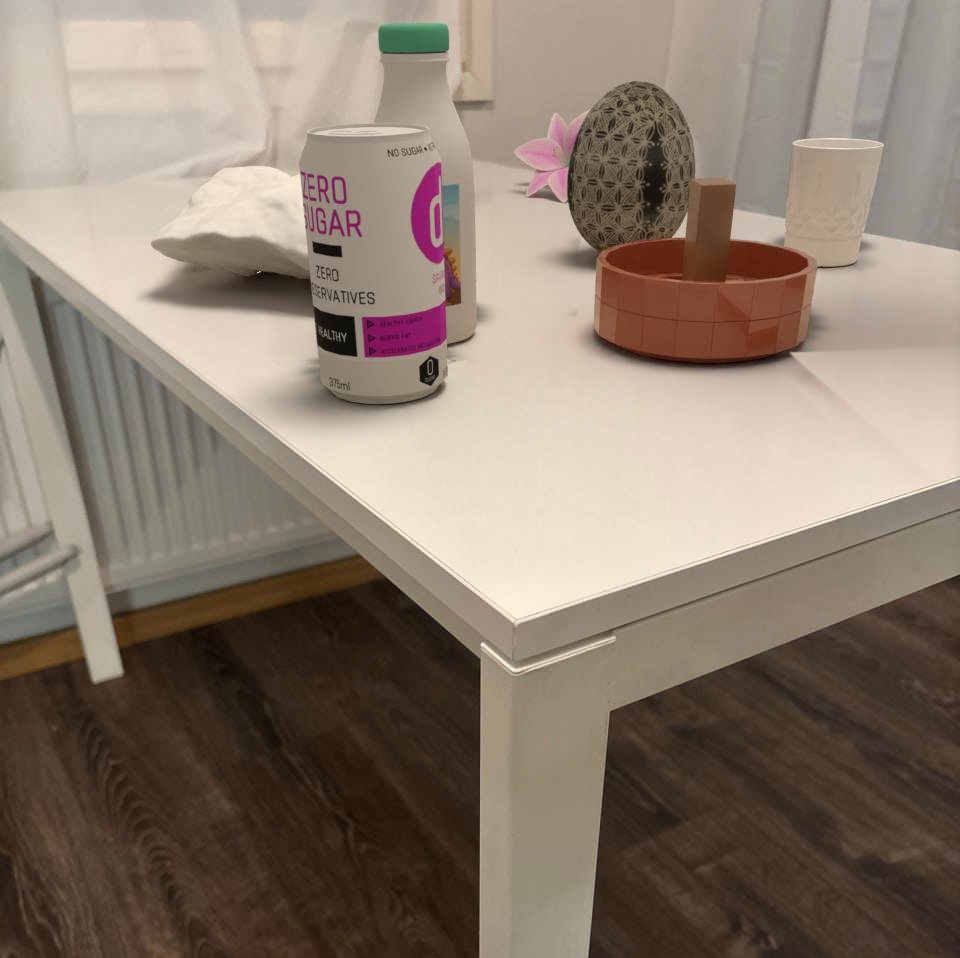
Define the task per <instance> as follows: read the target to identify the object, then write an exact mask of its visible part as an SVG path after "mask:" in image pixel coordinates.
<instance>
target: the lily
mask: <svg viewBox="0 0 960 958" xmlns="http://www.w3.org/2000/svg"><path fill="white" fill-rule="evenodd" d="M591 109H592V108H590V109H588V110H586V111H584V112H582V113H581V114H580V115H578V116H577V117H575V118H574V119H573V120H572V121H570V122H569V124H568V125H567V123H566V122H565V120H564V119H563V117H562V116H561V115H560V114H559V113H558V112H554V113H553V115H552V117H551V120H550V123H549V125H548V126H549V127H548V131H547V137H539V138H535V139H532V140H530V141H527V142H525V143H523V144H521V145H519V146H517V147H516V148H515V149H514V150H513V154H514V155H515V156H516V157H517V158H519V159H520V160H521V161H522V162H524V163H525V164H527V165H528V166H529V167H531V168H533V169H535V171H534V173H533V175H532V177H531V179H530V181H529V183H528V186H527V189H526V191H525V197H526V198H528V197H530V196H532V195H533V194H535V193H537V192H538V191H539V190H541V189H542V188H544V187H545V186H547V185H548V186H549V188H550V190H551V191H552V192H553V194H554V196H556V198H557V199H558V200H559V201H560V202H561V203H563V204H565V203H566V202H568V197H567V176H568V168H569V162H570V157H571V153H572V149H573V145H574V142H575V139H576V136H577V134H578V131H579V129H580V127H581V125H582V123H583V121H584V119H585V117H586V116H587V114H588V112H589V111H590V110H591Z"/></svg>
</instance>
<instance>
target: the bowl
mask: <svg viewBox="0 0 960 958" xmlns="http://www.w3.org/2000/svg"><path fill="white" fill-rule="evenodd" d="M684 247H685V237H672V238H661V239H651V240H641V241H634V242H630V243H625V244H620V245H615V246H613V247H611V248H608V249H606V250H603V251H602V252H601V253H600V252H599V254H598V256H597V257H596V265H595V282H594V283H595V286H594V303H593V304H594V305H593V306H594V307H593V329H594V330H595V332H596V333H597V335H598V337H601V338H603V339H604V340H606V341H608V342H610V343H612V344H614V345H616V346H617V347H620V348H621V349H624V350H626V351H629V352H631V353H634V354H636V355H641V356H644V357H649V358H654V359H658V360H659V359H660V360H665V361H666V360H667V361H674V362H684V363H700V364H701V363H704V364H715V363H716V364H721V363H723V364H724V363H736V362H745V361H753V360H757V359H762V358H767V357H770V356H773V355H775V354H778V353H781V352H783V351H785V350H786V351H787V350H789V349H792V348H795V347H797V346H798V345H799V344H801V343H802V342H803V341H804V340H806V339H807V335H808V329H809V321H810V316H811V310H812V302H813V297H814V290H815V285H816V279H817V278H816V277H817V271H818V266H817V263H816V259H815V258H813V257H811V256H810V255H808V254H806V253H805V252H802V251H799V250H796V249H792V248H789V247H786V246H784V245H780V244H775V243H770V242H763V241H757V240H749V239H739V238H730V246H729V255H728V264H727V273H726V280H737V279H743V280H744V281H734V282H706V281H682V269H683V258H684Z"/></svg>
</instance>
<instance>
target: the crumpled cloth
mask: <svg viewBox="0 0 960 958" xmlns="http://www.w3.org/2000/svg"><path fill="white" fill-rule="evenodd" d="M150 246H151V247H152V249H153V250H155V251H156V252H158V253H160V254H161V255H163V256H165V257H167V258H170V259H172V260H176V261H179V262H182V263H185V264H192V265H193V266H195V267H196V268H200V269H201V268H202V269H203V268H208V269H220V270H221V269H222V270H223V269H226V270H228V271H230V272H231V273H234V274H237V275H240V276H244V275H253V276H255V275H254V274H256V273H257V272H259V271H262V272H268V273H275V274H279V275H284V276H291V277H294V278H296V279H299V280H305V279H306V280H311V278H310V268H309V258H308V248H307V238H306V228H305V218H304V208H303V198H302V188H301V178H300V173H298V174H295V175H292V176H291V175H290V174H289V173H287V172H284V171H282V170H280V169H279V168H276V167H272V166H267V165H266V166H265V165H247V166H235V167H223V168H221V169H220V170H218V171H217V172H216V173H215V174H214V175H213V176H212V177H211V178H209V180H208V181H206V182H205V183H204V184H202V185H200V186H199V188H198V189H197V190H196V191H195V192H194V193H193V194H192V195H191V197H190V198H189V200H188V201H187V202H186V204H185V205H184V206H183V208H182V209H181V211H179V214H178V217H177V218H176V219H174V220H172V221H170V222H168V223H166V224H165V225H163V226H162V227H161V228H159V229H158V231H157V232H156V233H155V234H154V236H153V237H152V239H151V241H150ZM256 275H257V274H256Z"/></svg>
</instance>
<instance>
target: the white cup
mask: <svg viewBox="0 0 960 958" xmlns="http://www.w3.org/2000/svg"><path fill="white" fill-rule="evenodd" d="M884 147H885V144H884V143H883V142H881V141H876V140H872V139H871V140H870V139H861V138H846V137H844V138H842V137H820V138H819V137H818V138H815V137H814V138H805V139H798V140H794V141H792V142H791V151H790V164H789V173H788V183H787V192H786V193H787V194H786V202H785V203H786V205H785V219H784V220H785V221H784V228H785V232H784V241H783V242H784V243H783V246H786V247H789V248H792V249H796V250H799V251H802V252H805V253H806V254H808V255H810V256H811V257H813V258H815V259H816V263H817V267H821V266H822V268H823V267H825V268H826V267H828V268H829V267H830V268H831V267H832V268H833V267H844V266H849V265H852V264H855V263H856V262H857V260H858V256H859V251H860V247H861V243H862V238H863V233H864V232H865V230H866V226H867V222H868V221H867V220H868V218H869V214H870V209H871V205H872V204H871V203H872V201H873V198H874V193H875V189H876V184H877V180H878V175H879V170H880V166H881V161H882V157H883V152H884Z"/></svg>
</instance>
